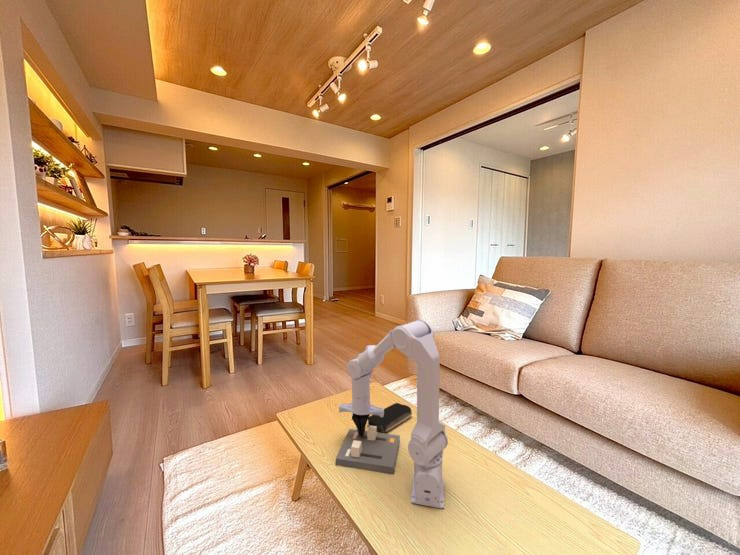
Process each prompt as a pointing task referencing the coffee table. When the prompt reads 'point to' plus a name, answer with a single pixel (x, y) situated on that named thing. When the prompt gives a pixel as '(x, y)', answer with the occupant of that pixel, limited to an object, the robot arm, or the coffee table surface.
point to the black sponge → (390, 417)
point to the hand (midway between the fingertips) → (361, 434)
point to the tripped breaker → (372, 433)
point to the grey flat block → (370, 452)
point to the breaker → (356, 448)
